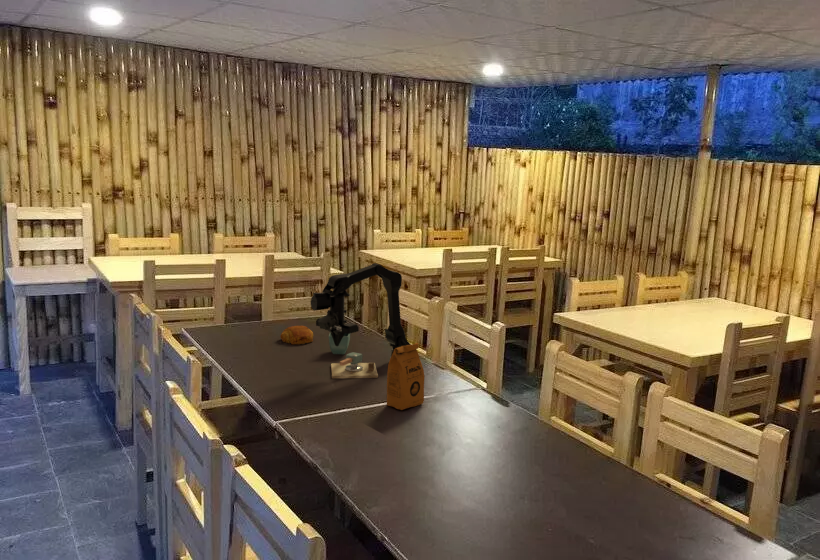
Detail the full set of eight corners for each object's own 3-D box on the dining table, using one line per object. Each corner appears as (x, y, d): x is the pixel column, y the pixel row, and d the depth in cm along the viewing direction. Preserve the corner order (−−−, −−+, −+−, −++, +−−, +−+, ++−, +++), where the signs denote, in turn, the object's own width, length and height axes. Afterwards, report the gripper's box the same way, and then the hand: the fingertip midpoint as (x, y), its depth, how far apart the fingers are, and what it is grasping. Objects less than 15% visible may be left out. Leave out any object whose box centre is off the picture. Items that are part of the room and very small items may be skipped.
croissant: (279, 342, 312) (276, 326, 310) (310, 335, 318) (308, 319, 316) (286, 350, 299) (283, 333, 297) (319, 342, 305) (316, 326, 303)
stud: (362, 366, 270) (362, 359, 269) (363, 371, 263) (363, 364, 262) (345, 366, 269) (345, 359, 268) (345, 372, 262) (345, 364, 261)
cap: (352, 359, 269) (352, 351, 268) (362, 361, 266) (362, 353, 266) (336, 366, 259) (336, 358, 258) (346, 368, 256) (346, 360, 256)
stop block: (369, 369, 266) (369, 362, 266) (374, 369, 266) (374, 362, 265) (368, 370, 264) (368, 363, 264) (373, 371, 264) (373, 364, 263)
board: (374, 365, 275) (374, 362, 275) (378, 377, 260) (378, 375, 259) (331, 365, 273) (331, 363, 272) (332, 378, 257) (332, 376, 257)
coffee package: (428, 405, 232) (430, 345, 228) (400, 413, 224) (402, 351, 220) (409, 397, 239) (411, 339, 235) (382, 405, 231) (384, 344, 227)
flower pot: (348, 356, 286) (348, 336, 285) (328, 355, 286) (328, 335, 285) (350, 350, 295) (350, 331, 293) (331, 349, 295) (331, 330, 293)
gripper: (305, 307, 259) (305, 345, 261) (339, 315, 247) (339, 355, 250) (326, 302, 267) (326, 340, 270) (359, 310, 256) (359, 349, 258)
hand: (336, 346), depth 262 cm, fingers closed
